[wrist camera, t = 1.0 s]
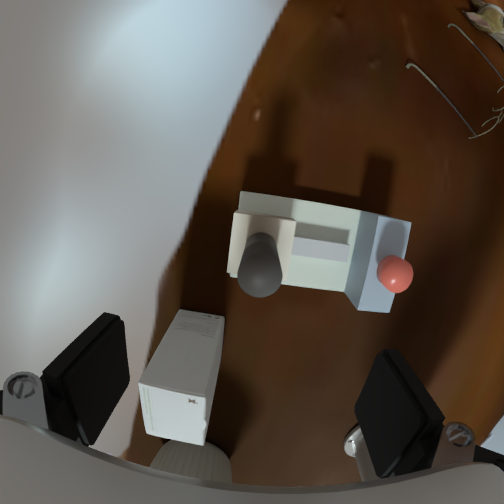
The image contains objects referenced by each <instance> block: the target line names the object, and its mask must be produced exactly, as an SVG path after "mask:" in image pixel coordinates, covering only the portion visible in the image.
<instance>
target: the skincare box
mask: <svg viewBox="0 0 504 504" xmlns="http://www.w3.org/2000/svg"><path fill="white" fill-rule="evenodd" d="M224 322H225V317H224V316H218V315H212V314H206V313H199V312H193V311H187V310H182V309H179V311H178V313H177V314H176V316H175V318H174V320H173V321H172V323H171V325H170V327H169V328H168V330H167V332H166V334H165V335H164V337H163V339H162V341H161V343H160V344H159V346H158V348H157V350H156V351H155V353H154V355H153V357H152V359H151V360H150V362H149V364H148V366H147V368H146V370H145V371H144V373H143V375H142V377H141V378H140V380H139V382H138V385H139V392H140V399H141V406H142V412H143V418H144V424H145V429H146V433H147V434H151V435H154V436H158V437H162V438H167V439H172V440H177V441H182V442H186V443H191V444H196V445H202V446H203V445H204V442H205V438H206V434H207V429H208V423H209V418H210V413H211V407H212V402H213V397H214V392H215V387H216V382H217V376H218V371H219V366H220V360H221V353H222V345H223V334H224Z"/></svg>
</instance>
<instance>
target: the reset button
mask: <svg viewBox="0 0 504 504" xmlns="http://www.w3.org/2000/svg"><path fill="white" fill-rule="evenodd" d="M377 278H378V280H379V282H380V283H381V284H382V285H383V286H384V287H386V288H387V289H388V290H389V291H390V292H393V293H400V292H402V291H404V290H405V289H407V288H408V287H409V285H410V284H411V282H412V279H413V268H412V266H411V265H410V263H408V262H407V261H405V260H404V259H402V258H400V257H398V256H396V255H389V256H386V257H385V258H383V259H382V260H381V261H380V263H379V265H378V267H377Z"/></svg>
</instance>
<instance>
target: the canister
mask: <svg viewBox="0 0 504 504" xmlns="http://www.w3.org/2000/svg"><path fill="white" fill-rule="evenodd" d="M149 468H153V469H157V470H160V471H164V472H169V473H173V474H178V475H182V476H187V477H193V478H198V479H204V480H210V481H217V482H224V483H232V475H231V465H230V461H229V459H228V457H227V455H226V454H225V453H224V452H223V451H222V450H221V449H220V448H218V447H217V446H215V445H213V444H211V443H208V442H204V445H203V446H202V445H196V444H191V443H186V442H182V441H177V440H170V441H168V442H167V443H165V444H164V445H163V446H162V447H161V449H160V450H159V452H158V453H157V455H156V457H155V458H154V460H153V462H152V463H151V465H150V467H149Z"/></svg>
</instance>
